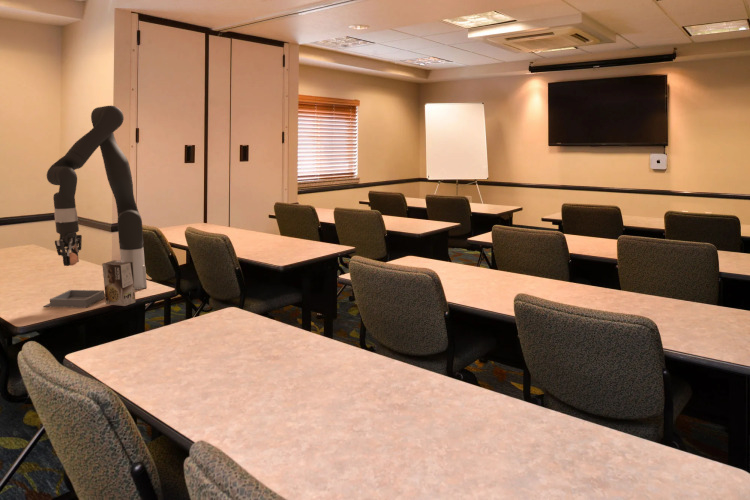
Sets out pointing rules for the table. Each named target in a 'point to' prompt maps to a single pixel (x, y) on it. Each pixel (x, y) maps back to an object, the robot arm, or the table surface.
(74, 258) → the ball
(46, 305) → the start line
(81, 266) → the table surface
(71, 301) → the bin
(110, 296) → the coffee box
